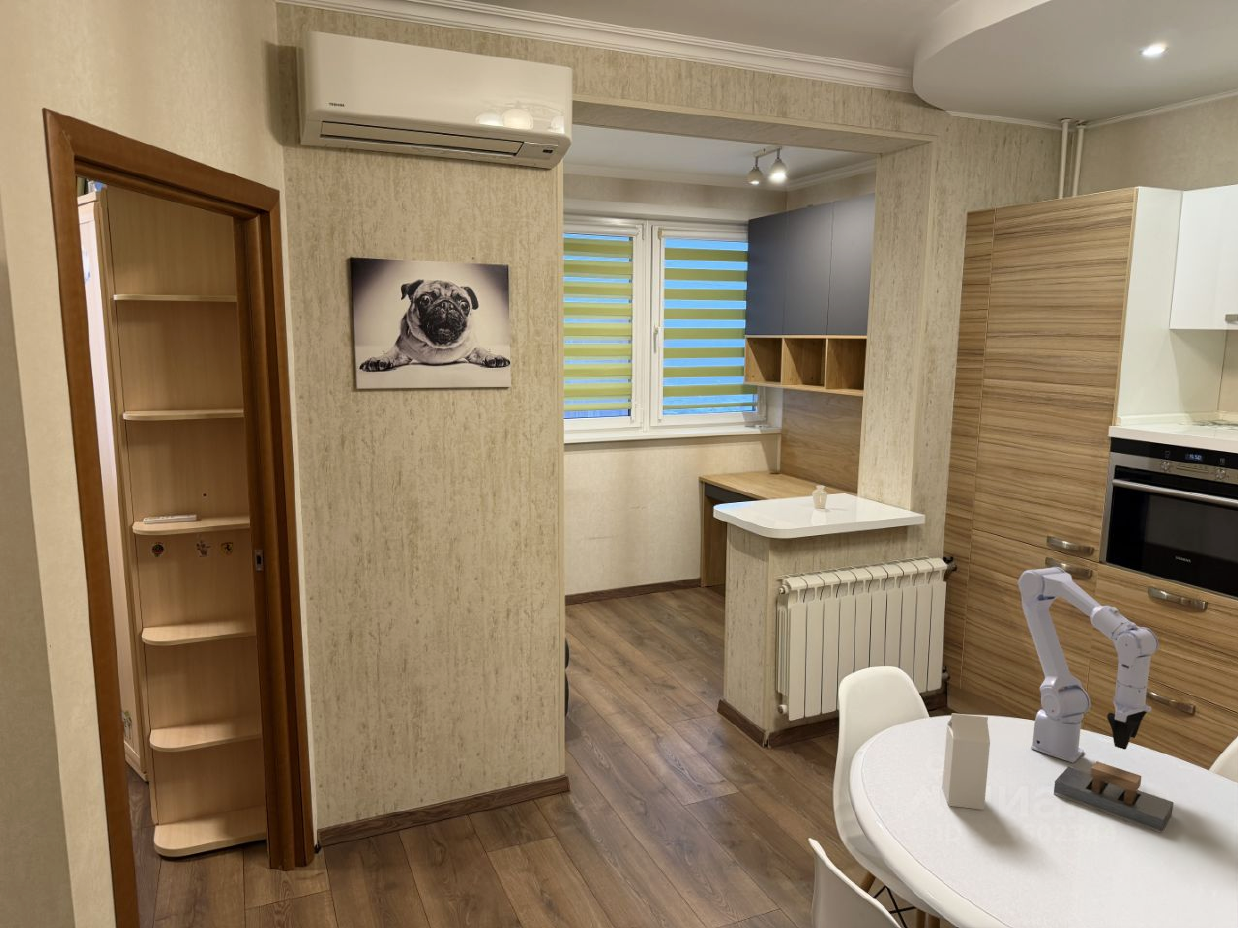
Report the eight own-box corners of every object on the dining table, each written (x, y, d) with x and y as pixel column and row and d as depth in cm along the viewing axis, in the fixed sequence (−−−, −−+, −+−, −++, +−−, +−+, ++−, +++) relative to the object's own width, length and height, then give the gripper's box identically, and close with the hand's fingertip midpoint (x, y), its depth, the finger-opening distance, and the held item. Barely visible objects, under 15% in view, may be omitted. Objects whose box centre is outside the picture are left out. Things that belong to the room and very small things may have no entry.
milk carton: (984, 810, 171) (991, 724, 168) (947, 806, 173) (955, 720, 170) (976, 792, 178) (983, 709, 175) (941, 788, 180) (948, 706, 177)
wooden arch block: (1087, 798, 176) (1091, 767, 175) (1093, 791, 179) (1096, 761, 178) (1132, 814, 170) (1136, 782, 169) (1137, 806, 173) (1141, 775, 172)
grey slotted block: (1053, 793, 178) (1055, 780, 178) (1066, 778, 184) (1068, 766, 184) (1161, 833, 164) (1163, 819, 164) (1171, 815, 171) (1173, 802, 170)
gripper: (1144, 698, 171) (1137, 759, 174) (1161, 679, 182) (1154, 737, 184) (1106, 688, 176) (1100, 747, 178) (1124, 670, 187) (1118, 726, 189)
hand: (1125, 741), depth 181 cm, fingers open, 7 cm apart
